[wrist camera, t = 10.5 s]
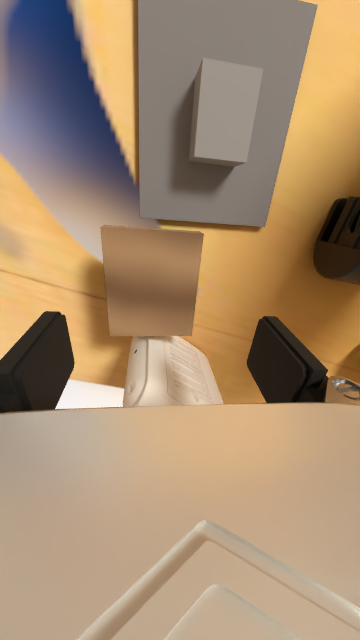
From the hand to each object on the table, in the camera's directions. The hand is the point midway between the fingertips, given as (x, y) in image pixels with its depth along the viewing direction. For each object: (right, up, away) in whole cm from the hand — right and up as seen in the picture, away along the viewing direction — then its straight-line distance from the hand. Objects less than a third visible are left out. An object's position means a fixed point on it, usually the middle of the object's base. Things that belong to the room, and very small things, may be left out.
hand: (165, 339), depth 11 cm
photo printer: (-1, -2, +17) cm, 17 cm away
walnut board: (-2, +4, +8) cm, 10 cm away
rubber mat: (+3, +17, +7) cm, 18 cm away
